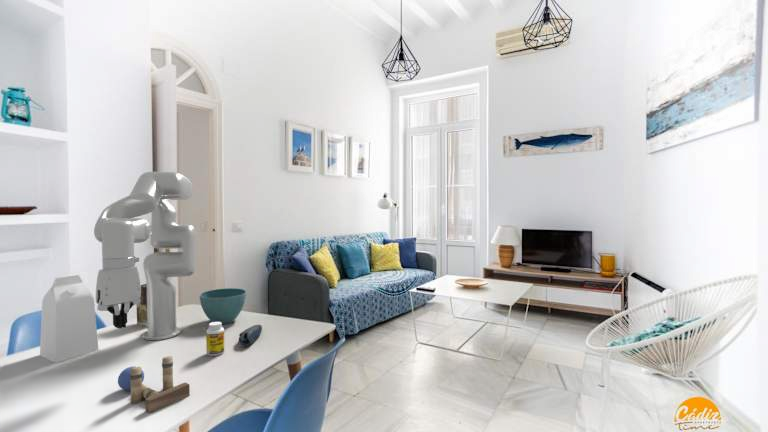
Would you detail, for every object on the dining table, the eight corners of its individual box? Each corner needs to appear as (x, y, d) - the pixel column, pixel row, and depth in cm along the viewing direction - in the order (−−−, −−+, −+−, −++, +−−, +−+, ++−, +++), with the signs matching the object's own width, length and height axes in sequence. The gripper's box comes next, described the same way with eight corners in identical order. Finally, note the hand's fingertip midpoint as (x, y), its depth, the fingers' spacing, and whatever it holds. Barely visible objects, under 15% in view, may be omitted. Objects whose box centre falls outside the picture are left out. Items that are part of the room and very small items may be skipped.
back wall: (145, 410, 94) (145, 398, 94) (185, 393, 103) (185, 382, 103) (150, 413, 93) (149, 400, 93) (189, 395, 102) (189, 384, 102)
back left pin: (160, 389, 105) (159, 358, 105) (170, 385, 107) (169, 355, 107) (165, 391, 104) (165, 360, 103) (175, 387, 106) (174, 357, 105)
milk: (82, 343, 138) (80, 271, 137) (98, 349, 132) (96, 274, 131) (39, 355, 128) (37, 277, 127) (55, 362, 122) (52, 281, 121)
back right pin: (128, 402, 98) (127, 369, 98) (139, 397, 100) (138, 365, 100) (133, 405, 97) (132, 371, 96) (144, 400, 99) (143, 368, 99)
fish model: (232, 349, 133) (232, 335, 133) (248, 330, 154) (248, 317, 154) (252, 349, 134) (252, 335, 134) (265, 329, 155) (265, 317, 155)
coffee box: (166, 322, 163) (165, 284, 162) (152, 326, 157) (151, 287, 156) (150, 319, 166) (149, 282, 165) (136, 324, 160) (135, 285, 159)
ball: (122, 384, 100) (126, 399, 103) (146, 370, 104) (149, 385, 107) (111, 371, 103) (115, 385, 106) (135, 358, 107) (139, 372, 110)
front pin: (133, 394, 101) (149, 403, 97) (136, 384, 102) (152, 392, 97) (143, 393, 103) (159, 402, 99) (146, 383, 104) (162, 391, 99)
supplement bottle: (208, 357, 126) (207, 327, 126) (205, 352, 131) (204, 322, 130) (226, 354, 129) (225, 324, 129) (222, 348, 134) (222, 319, 133)
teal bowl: (212, 314, 174) (212, 287, 173) (252, 315, 173) (252, 288, 172) (191, 328, 155) (190, 297, 155) (236, 328, 155) (235, 298, 154)
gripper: (140, 259, 118) (141, 318, 119) (81, 266, 105) (83, 332, 106) (153, 261, 114) (154, 322, 115) (94, 268, 101) (95, 337, 102)
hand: (120, 327), depth 110 cm, fingers closed
